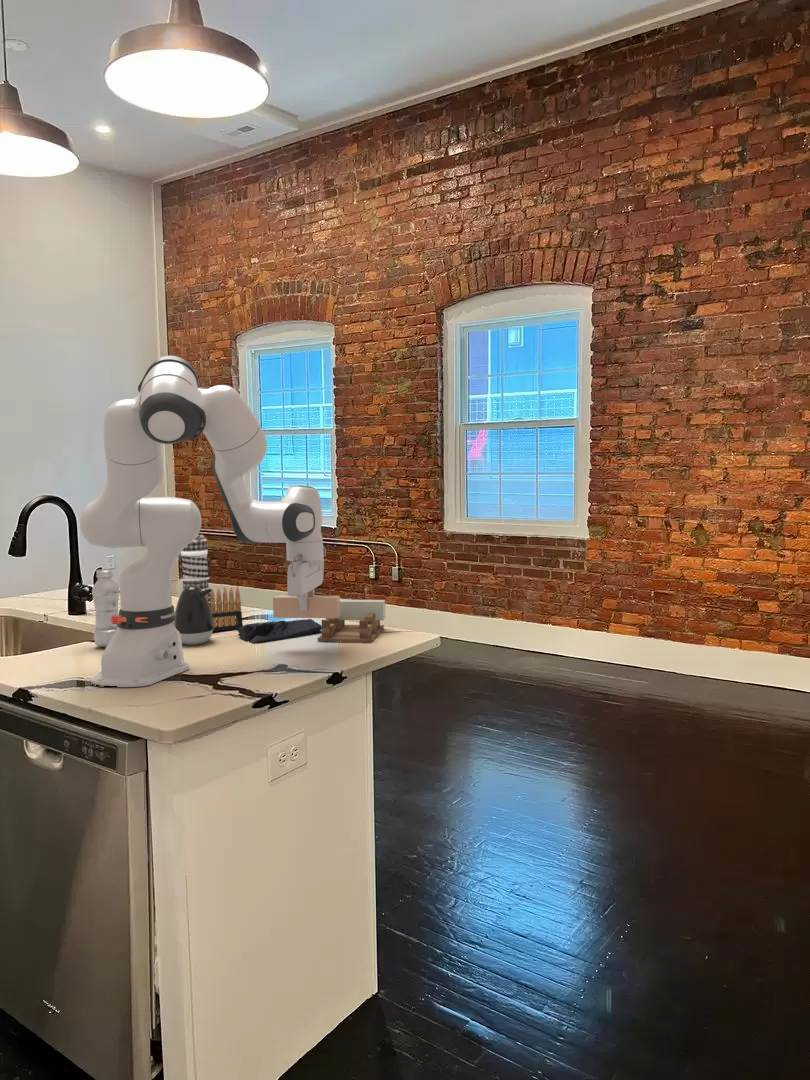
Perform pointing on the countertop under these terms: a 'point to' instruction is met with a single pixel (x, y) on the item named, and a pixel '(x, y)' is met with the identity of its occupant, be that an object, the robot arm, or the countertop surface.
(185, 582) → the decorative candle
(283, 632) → the dark slate chunk
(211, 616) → the pump dispenser
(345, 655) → the countertop surface
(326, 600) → the clay strip
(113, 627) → the plastic bottle
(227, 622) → the ammunition clip
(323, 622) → the walnut drying rack
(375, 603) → the cream rectangular bar
